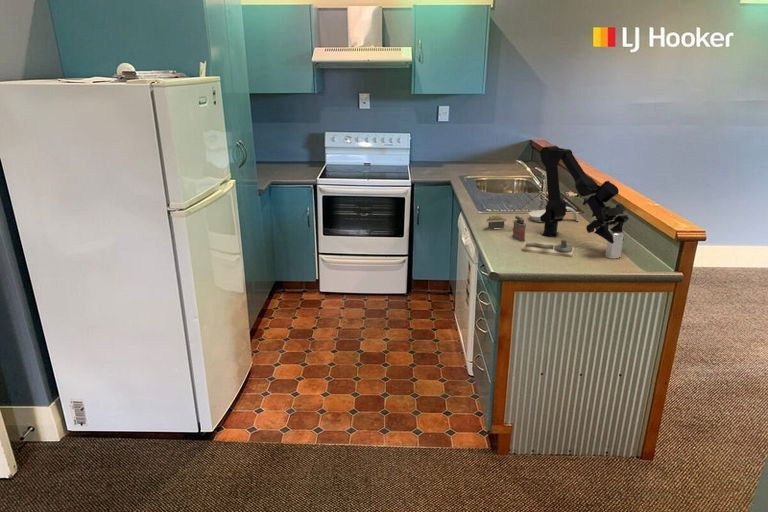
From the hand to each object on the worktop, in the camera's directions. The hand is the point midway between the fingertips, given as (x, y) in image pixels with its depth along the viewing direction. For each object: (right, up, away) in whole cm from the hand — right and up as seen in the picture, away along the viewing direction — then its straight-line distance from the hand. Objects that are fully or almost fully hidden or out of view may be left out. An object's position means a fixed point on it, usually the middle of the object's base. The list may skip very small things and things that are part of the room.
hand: (617, 241), depth 216 cm
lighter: (-33, +2, +26) cm, 42 cm away
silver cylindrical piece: (-1, -6, +3) cm, 7 cm away
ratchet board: (-24, -3, +11) cm, 27 cm away
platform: (-40, +7, +40) cm, 57 cm away
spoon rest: (-9, +11, +53) cm, 55 cm away
